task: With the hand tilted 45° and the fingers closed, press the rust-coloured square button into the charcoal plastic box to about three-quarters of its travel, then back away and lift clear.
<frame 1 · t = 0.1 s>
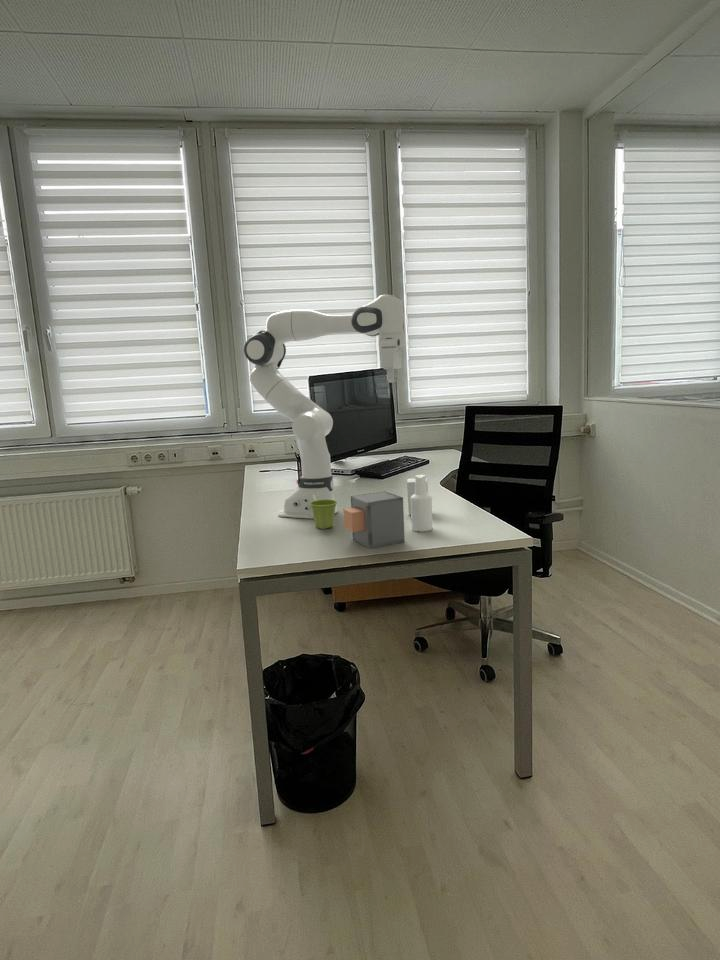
hand: (393, 382, 211), 48 cm above the table, tool pointing down, fingers open, 8 cm apart
spray bottle: (422, 529, 196), on the table
plant pot: (324, 527, 206), on the table
button box: (378, 540, 186), on the table
supplement box: (418, 513, 218), on the table
button: (355, 519, 181), point 8 cm above the table, slide at 0.0 cm
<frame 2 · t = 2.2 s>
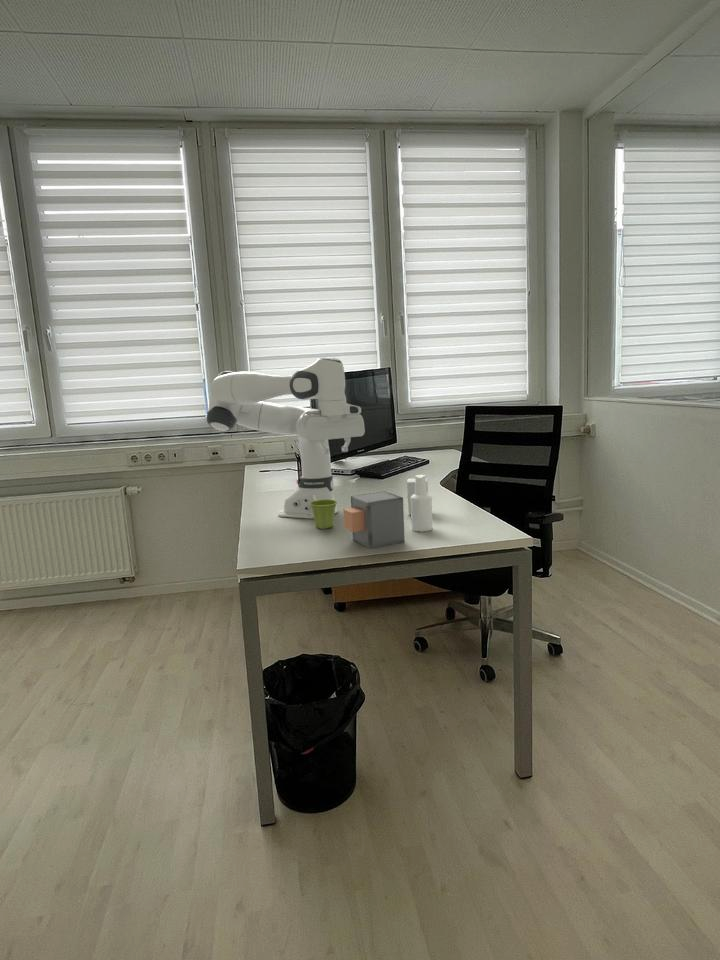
hand: (335, 452, 190), 27 cm above the table, tool pointing down, fingers open, 5 cm apart
nothing on the table moved.
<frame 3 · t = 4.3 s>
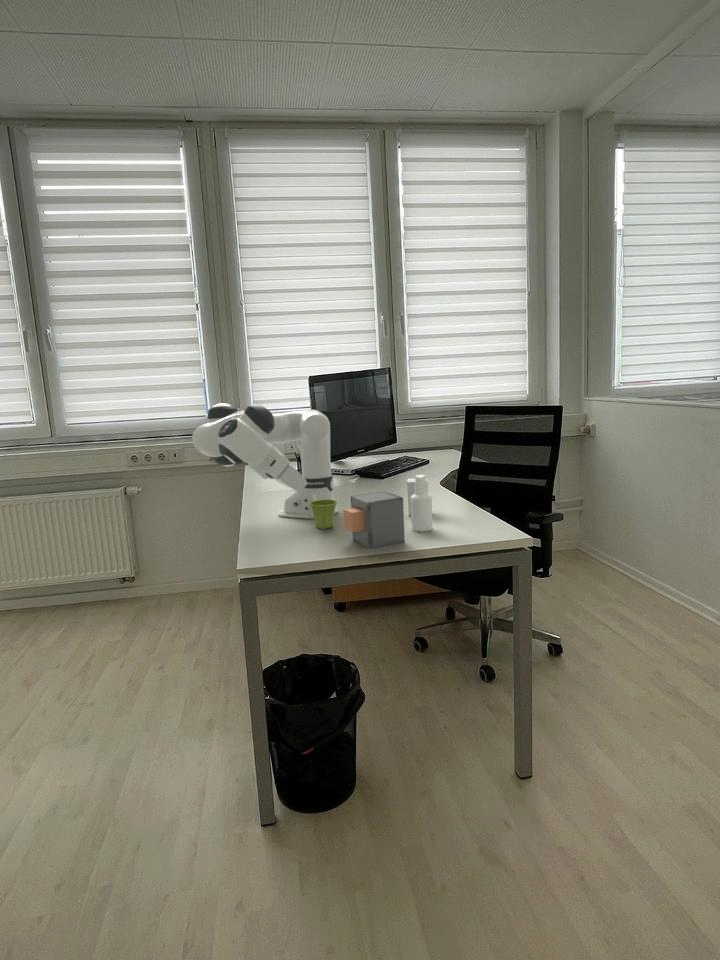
hand: (304, 492, 173), 18 cm above the table, tool tilted 45°, fingers closed
nothing on the table moved.
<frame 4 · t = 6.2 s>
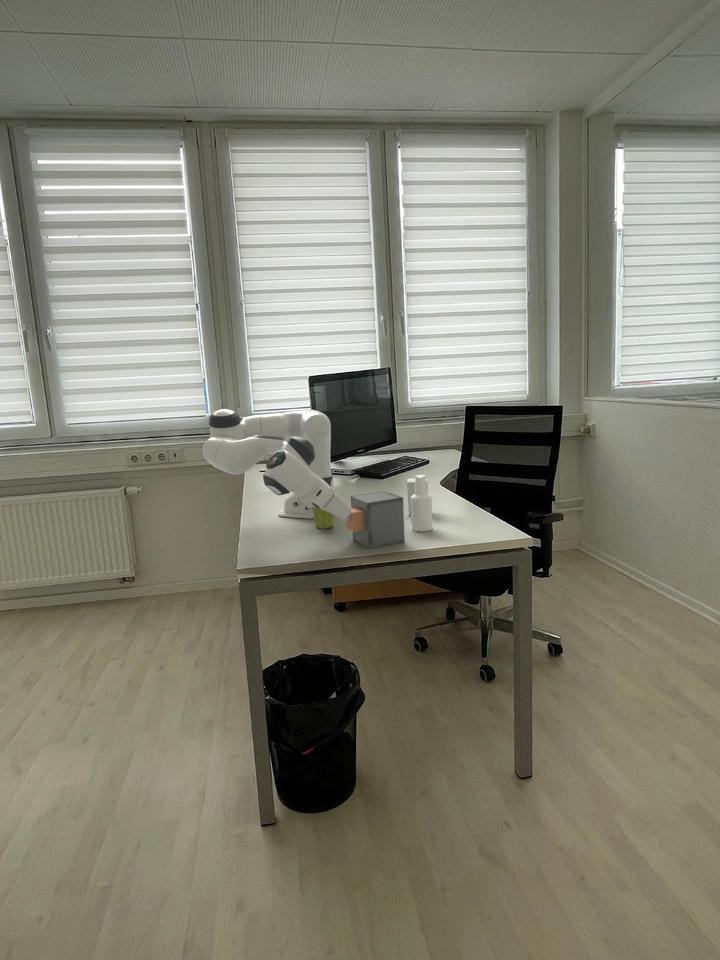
hand: (346, 519, 180), 8 cm above the table, tool tilted 45°, fingers closed, pressing on button
button: (356, 519, 181), point 8 cm above the table, slide at 0.2 cm, touching gripper
everything else where it was.
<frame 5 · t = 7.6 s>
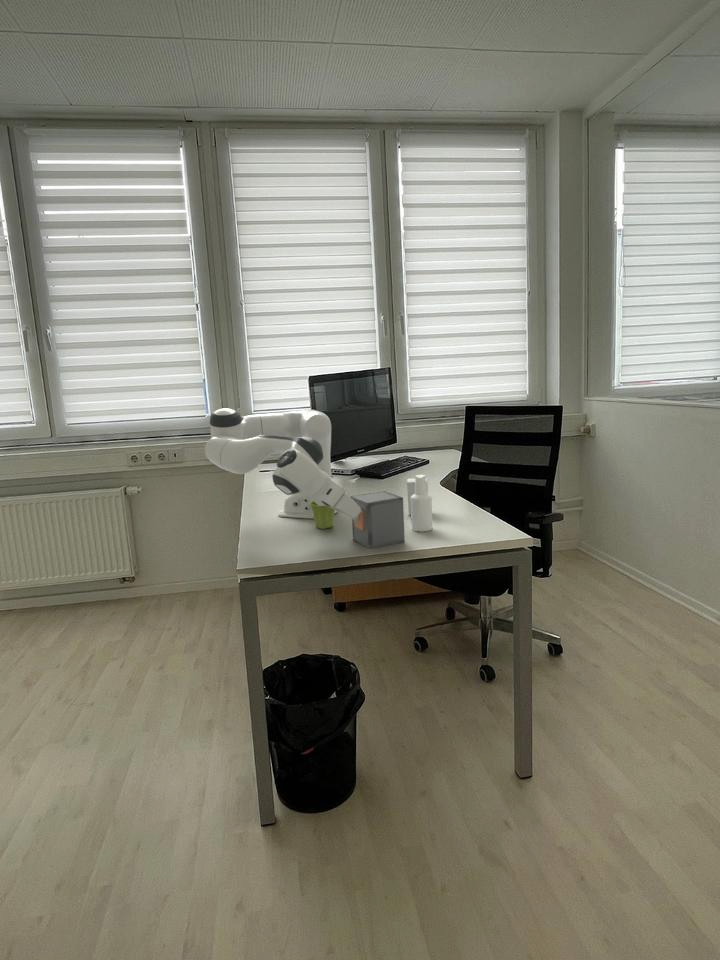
hand: (356, 518, 181), 8 cm above the table, tool tilted 45°, fingers closed
button: (365, 517, 183), point 8 cm above the table, slide at 3.4 cm
everything else where it was.
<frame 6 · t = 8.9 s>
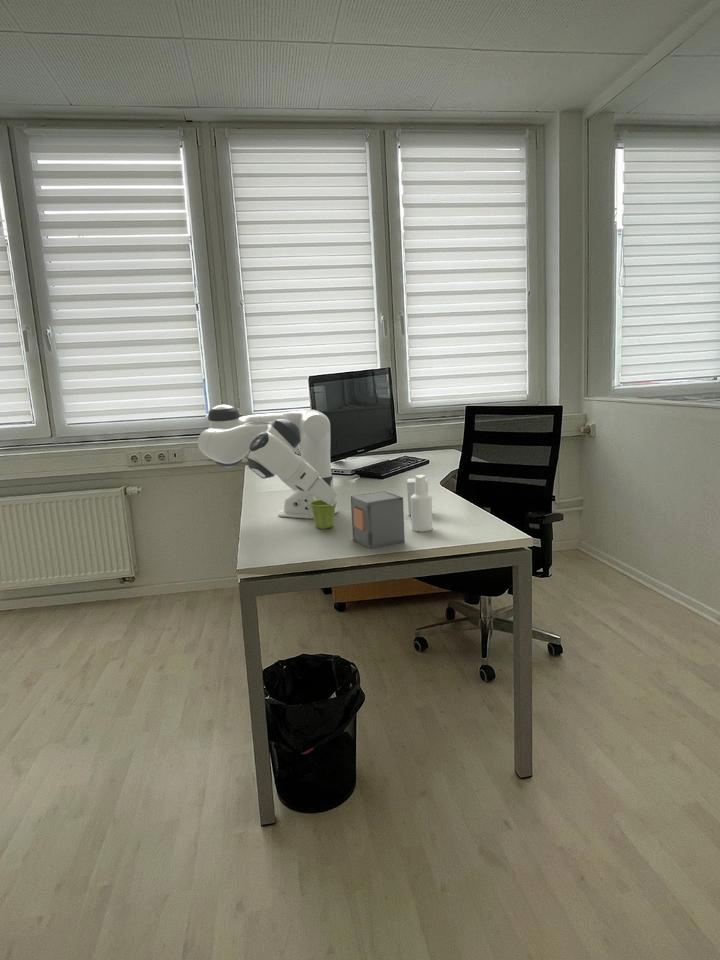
hand: (332, 503, 176), 14 cm above the table, tool tilted 45°, fingers closed
nothing on the table moved.
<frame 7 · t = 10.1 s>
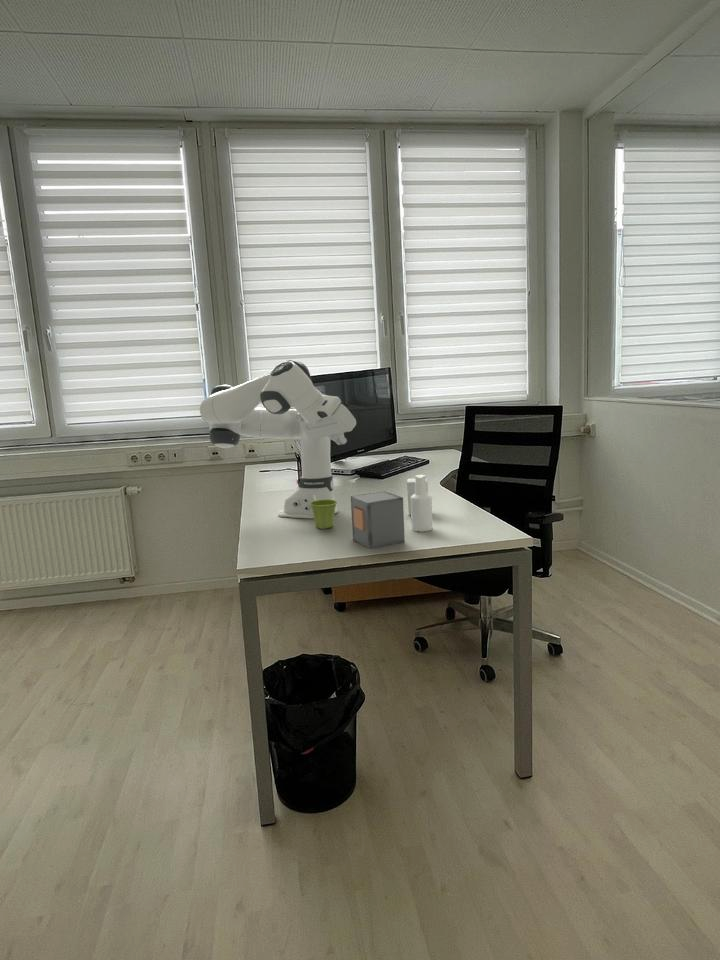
hand: (342, 443, 179), 31 cm above the table, tool tilted 40°, fingers closed
nothing on the table moved.
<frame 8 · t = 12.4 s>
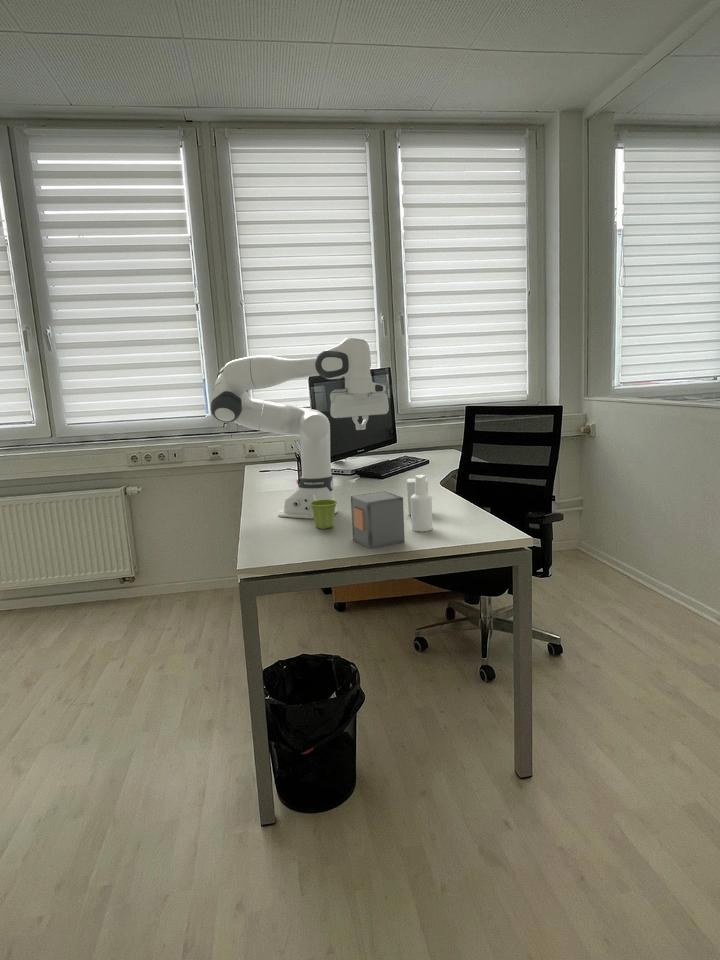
hand: (360, 429, 199), 33 cm above the table, tool pointing down, fingers closed
nothing on the table moved.
at the end: button slide at 3.4 cm; spray bottle moved 0.2 cm from its start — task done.
